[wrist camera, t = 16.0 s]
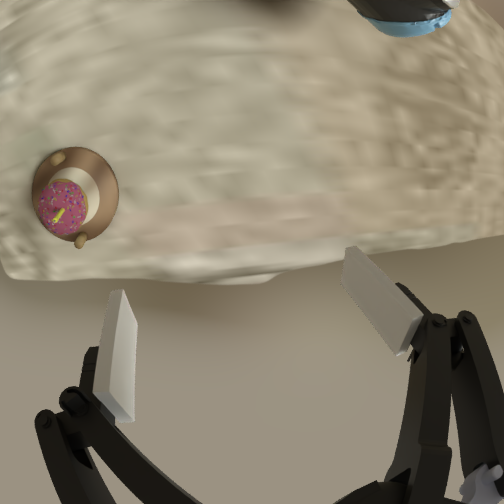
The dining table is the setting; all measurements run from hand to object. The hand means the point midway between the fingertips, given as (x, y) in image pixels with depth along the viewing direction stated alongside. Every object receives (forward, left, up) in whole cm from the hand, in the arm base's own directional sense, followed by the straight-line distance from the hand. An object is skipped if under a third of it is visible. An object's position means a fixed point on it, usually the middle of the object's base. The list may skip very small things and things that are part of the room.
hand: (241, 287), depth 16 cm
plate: (-10, -19, -32) cm, 38 cm away
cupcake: (-10, -19, -30) cm, 37 cm away
